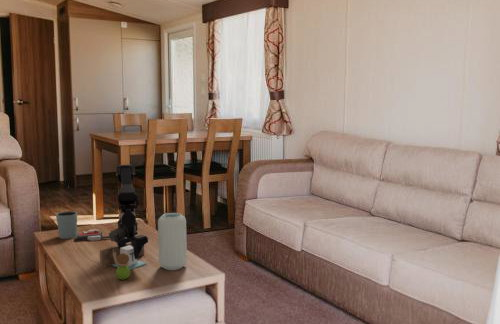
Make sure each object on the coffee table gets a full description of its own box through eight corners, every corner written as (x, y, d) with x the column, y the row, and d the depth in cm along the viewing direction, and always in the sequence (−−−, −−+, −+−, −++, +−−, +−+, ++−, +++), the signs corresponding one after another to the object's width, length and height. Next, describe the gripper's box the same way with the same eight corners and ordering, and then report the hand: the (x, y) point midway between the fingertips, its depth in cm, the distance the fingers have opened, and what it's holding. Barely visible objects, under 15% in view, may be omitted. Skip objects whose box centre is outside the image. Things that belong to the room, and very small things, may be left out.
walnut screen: (142, 253, 227) (141, 238, 227) (144, 254, 227) (143, 239, 226) (100, 266, 211) (99, 250, 210) (102, 267, 210) (101, 251, 209)
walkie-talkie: (74, 243, 245) (117, 239, 251) (74, 234, 244) (116, 230, 251) (74, 238, 253) (115, 234, 260) (74, 229, 252) (115, 226, 259)
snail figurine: (114, 276, 199) (113, 247, 197) (131, 276, 199) (130, 247, 198) (112, 282, 194) (111, 251, 192) (129, 281, 194) (128, 251, 193)
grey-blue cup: (74, 239, 250) (72, 215, 248) (53, 239, 250) (52, 215, 248) (81, 233, 260) (80, 211, 258) (61, 233, 260) (60, 210, 258)
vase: (186, 261, 217) (185, 211, 214) (187, 271, 206) (186, 217, 203) (159, 263, 215) (157, 212, 212) (158, 272, 204) (157, 219, 201)
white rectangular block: (130, 261, 216) (129, 245, 215) (137, 263, 213) (137, 247, 212) (120, 264, 212) (120, 247, 211) (128, 266, 209) (127, 250, 208)
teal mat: (131, 259, 220) (131, 258, 220) (146, 264, 213) (146, 263, 213) (112, 265, 212) (112, 264, 212) (127, 270, 206) (127, 269, 206)
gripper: (98, 220, 210) (99, 257, 212) (126, 228, 198) (127, 266, 200) (120, 215, 218) (121, 250, 220) (148, 222, 207) (149, 259, 209)
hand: (129, 256), depth 212 cm, fingers open, 9 cm apart
